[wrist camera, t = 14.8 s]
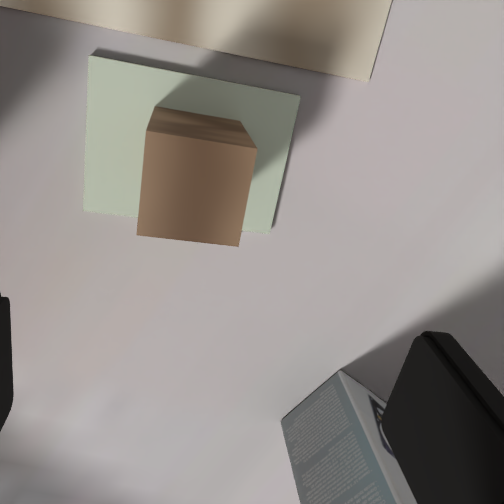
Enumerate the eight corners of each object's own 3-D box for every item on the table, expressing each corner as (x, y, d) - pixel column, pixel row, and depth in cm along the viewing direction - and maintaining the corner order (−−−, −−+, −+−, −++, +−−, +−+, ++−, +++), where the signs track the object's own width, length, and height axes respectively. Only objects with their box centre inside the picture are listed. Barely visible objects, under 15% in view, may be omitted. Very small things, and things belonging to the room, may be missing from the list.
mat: (298, 95, 27) (300, 96, 27) (268, 231, 31) (269, 234, 30) (90, 55, 24) (88, 55, 24) (84, 208, 28) (83, 211, 28)
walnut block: (240, 120, 27) (257, 148, 20) (226, 199, 29) (238, 246, 23) (154, 106, 26) (145, 130, 19) (146, 188, 28) (136, 235, 22)
